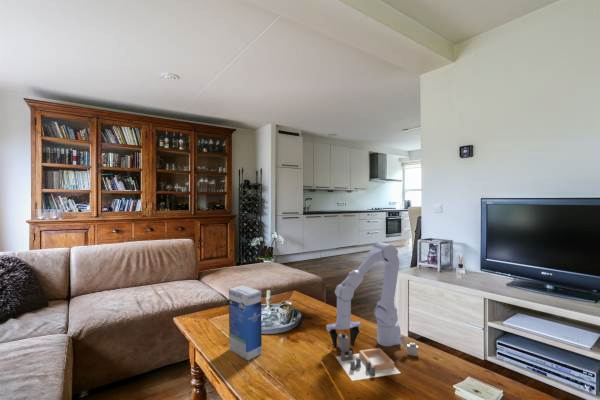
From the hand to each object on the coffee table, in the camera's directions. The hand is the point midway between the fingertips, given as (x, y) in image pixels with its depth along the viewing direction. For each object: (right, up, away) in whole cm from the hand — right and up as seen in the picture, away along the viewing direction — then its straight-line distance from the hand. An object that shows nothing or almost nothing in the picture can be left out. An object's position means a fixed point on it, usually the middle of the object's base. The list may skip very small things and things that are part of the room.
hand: (343, 346), depth 125 cm
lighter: (+26, -2, -4) cm, 26 cm away
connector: (0, -2, 0) cm, 2 cm away
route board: (+7, -2, -12) cm, 14 cm away
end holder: (+11, -1, -10) cm, 15 cm away
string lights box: (-41, -2, -1) cm, 41 cm away
